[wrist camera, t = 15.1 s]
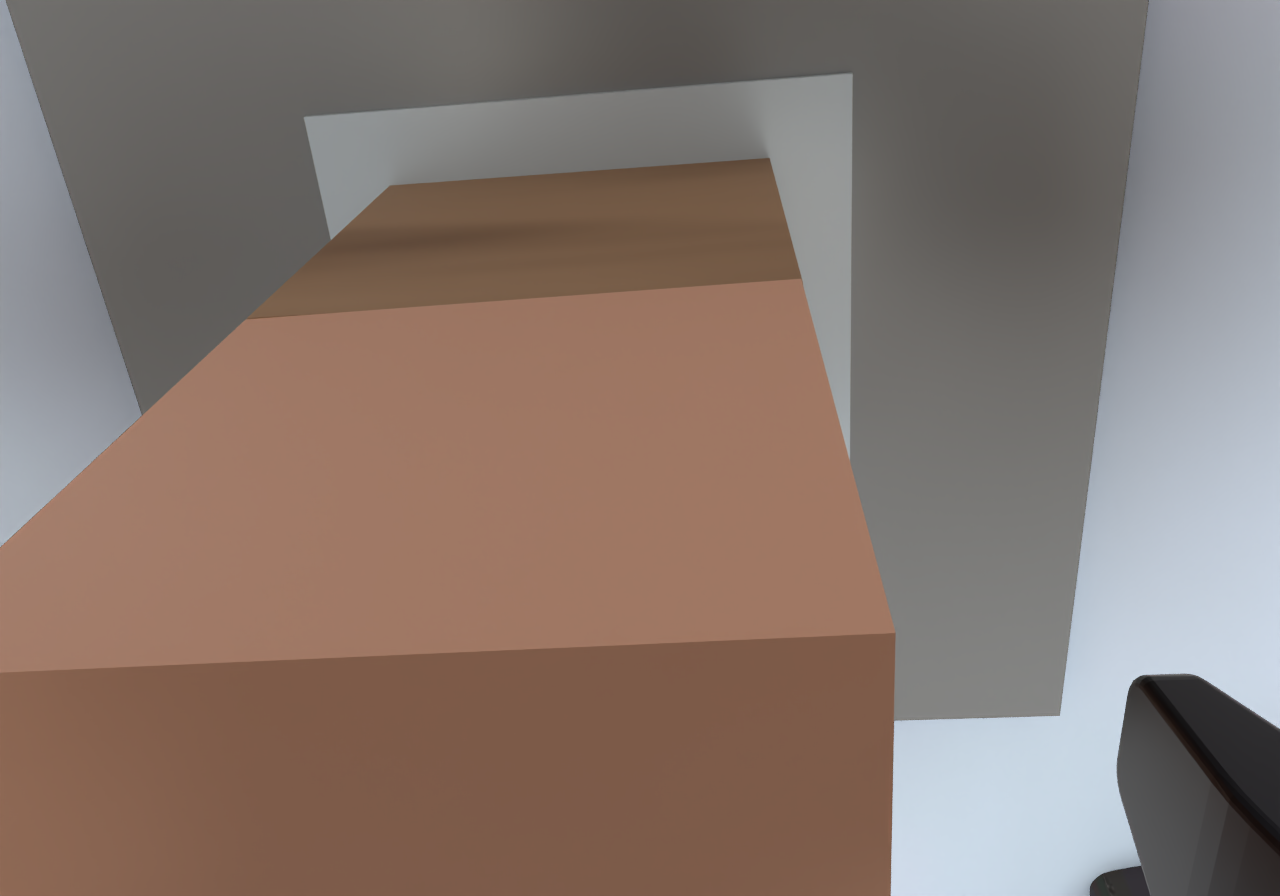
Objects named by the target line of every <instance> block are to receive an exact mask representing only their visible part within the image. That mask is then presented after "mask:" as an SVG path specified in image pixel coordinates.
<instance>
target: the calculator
mask: <svg viewBox="0 0 1280 896" xmlns="http://www.w3.org/2000/svg"><path fill="white" fill-rule="evenodd" d="M1090 896H1150V892H1149V889H1148V886H1147V882H1146V879H1145V876H1144V872H1143V869H1142V866H1137V867H1131V868H1125V869H1120V870H1115V871H1110V872H1107V873H1104V874H1102V875H1100V876H1099V877H1097V878H1096V879H1095V880H1094V881H1093V882H1092V884H1091V886H1090Z"/></svg>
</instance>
